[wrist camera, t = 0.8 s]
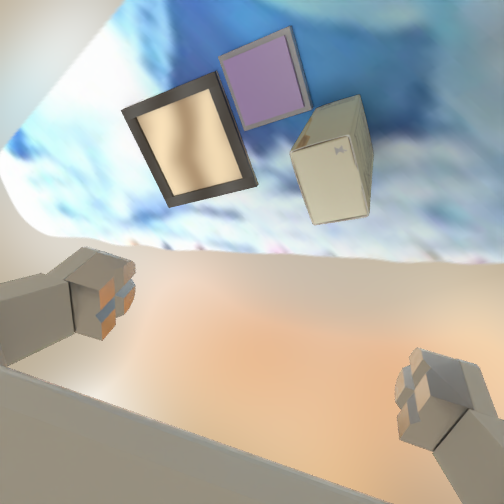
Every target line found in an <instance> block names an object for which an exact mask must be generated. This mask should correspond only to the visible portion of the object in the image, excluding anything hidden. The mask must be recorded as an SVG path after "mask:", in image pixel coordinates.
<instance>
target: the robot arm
mask: <svg viewBox="0 0 504 504" xmlns="http://www.w3.org/2000/svg"><path fill="white" fill-rule="evenodd" d="M134 274H135V263H134V262H133V261H131V260H127V259H124V258H121V257H118V256H116V255H112V254H109V253H107V252H103V251H100V250H96V249H93V248H90V247H82V248H80V249H79V250H78V251H76V252H75V253H74V254H72V255H71V256H70V257H68V258H67V259H66V260H65V261H63V262H62V263H61V264H59V265H58V266H57V267H56V268H54V269H53V270H51V271H50V272H49V273H47V274H46V275H45V274H42V273H40V274H36V275H32V276H28V277H24V278H20V279H16V280H12V281H8V282H4V283H0V504H392V503H390V502H387V501H384V500H381V499H378V498H375V497H372V496H370V495H367V494H364V493H361V492H358V491H356V490H353V489H350V488H347V487H344V486H341V485H339V484H336V483H333V482H330V481H327V480H324V479H321V478H318V477H316V476H313V475H310V474H307V473H304V472H302V471H298V470H296V469H293V468H290V467H287V466H284V465H282V464H279V463H276V462H273V461H270V460H268V459H265V458H262V457H259V456H256V455H253V454H251V453H248V452H245V451H242V450H239V449H237V448H234V447H231V446H228V445H225V444H222V443H219V442H217V441H214V440H211V439H208V438H205V437H203V436H200V435H197V434H194V433H191V432H188V431H186V430H183V429H180V428H177V427H175V426H172V425H169V424H166V423H163V422H160V421H158V420H155V419H152V418H149V417H146V416H143V415H140V414H138V413H135V412H132V411H129V410H127V409H124V408H121V407H118V406H115V405H112V404H109V403H107V402H104V401H101V400H98V399H95V398H92V397H90V396H87V395H84V394H81V393H78V392H76V391H73V390H70V389H67V388H64V387H61V386H58V385H56V384H53V383H50V382H47V381H44V380H42V379H39V378H36V377H33V376H30V375H28V374H25V373H22V372H19V371H16V370H13V369H10V368H8V367H7V366H9V365H11V364H13V363H15V362H18V361H20V360H22V359H24V358H26V357H28V356H30V355H32V354H34V353H36V352H38V351H40V350H42V349H44V348H46V347H48V346H50V345H52V344H54V343H57V342H58V341H61V340H63V339H65V338H67V337H69V336H71V335H73V334H74V332H75V333H78V334H82V335H85V336H88V337H92V338H95V339H99V340H102V341H103V339H104V338H105V337H106V336H107V335H108V333H109V332H110V331H111V330H112V329H113V328H114V326H115V325H116V318H117V317H120V316H122V315H124V314H125V313H126V312H127V310H128V309H129V308H130V306H131V304H132V302H133V300H134V296H135V284H134V282H133V281H132V279H131V278H132V276H133V275H134ZM409 359H410V365H409V366H407V367H404V368H402V370H401V372H400V374H399V376H398V378H397V382H396V385H395V402H396V404H397V405H398V406H399V408H400V409H401V411H400V413H399V414H398V416H397V421H398V431H399V439H400V440H401V441H404V442H407V443H410V444H412V445H415V446H418V447H421V448H423V449H427V450H429V451H432V452H433V455H434V457H435V459H436V460H437V462H438V464H439V465H440V467H441V469H442V470H443V472H444V474H445V475H446V477H447V479H448V480H449V482H450V483H451V485H452V487H453V488H454V490H455V492H456V493H457V495H458V497H459V498H460V500H461V502H462V503H463V504H504V420H502V419H499V418H498V416H497V413H496V410H495V408H494V405H493V402H492V400H491V397H490V394H489V392H488V389H487V386H486V383H485V381H484V378H483V375H482V373H481V370H480V368H479V367H478V366H477V365H476V364H474V363H470V362H466V361H463V360H459V359H453V358H451V357H447V356H444V355H441V354H437V353H434V352H430V351H427V350H424V349H421V348H416V349H415V350H414V351H413V352H412V353H411V355H410V357H409Z"/></svg>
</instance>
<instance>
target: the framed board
mask: <svg viewBox="0 0 504 504" xmlns="http://www.w3.org/2000/svg"><path fill="white" fill-rule="evenodd" d="M121 112H122V114H123V116H124V118H125V120H126V122H127V124H128V126H129V128H130V130H131V132H132V134H133V136H134V138H135V140H136V142H137V144H138V146H139V148H140V150H141V152H142V154H143V156H144V158H145V160H146V162H147V164H148V166H149V168H150V171H151V173H152V175H153V177H154V179H155V181H156V183H157V185H158V187H159V189H160V191H161V193H162V195H163V197H164V199H165V201H166V203H167V205H168V207H169V208H171V207H175V206H179V205H183V204H187V203H191V202H195V201H199V200H204V199H208V198H212V197H216V196H220V195H224V194H228V193H232V192H237V191H241V190H245V189H249V188H253V187H257V185H258V182H257V179H256V177H255V174H254V171H253V168H252V166H251V163H250V160H249V157H248V155H247V152H246V149H245V146H244V144H243V141H242V138H241V135H240V133H239V130H238V127H237V124H236V122H235V119H234V116H233V113H232V111H231V108H230V105H229V102H228V100H227V97H226V94H225V91H224V89H223V86H222V83H221V80H220V78H219V75H218V72H217V71H215V72H212V73H210V74H207V75H205V76H202V77H200V78H198V79H195V80H193V81H190V82H188V83H186V84H183V85H181V86H178V87H176V88H173V89H171V90H169V91H166V92H164V93H161V94H159V95H157V96H154V97H152V98H149V99H147V100H144V101H142V102H140V103H137V104H135V105H132V106H130V107H128V108H125V109H123V110H121Z"/></svg>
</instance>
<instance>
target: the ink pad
mask: <svg viewBox="0 0 504 504" xmlns="http://www.w3.org/2000/svg"><path fill="white" fill-rule="evenodd" d="M218 58H219V61H220V64H221V67H222V69H223V72H224V75H225V78H226V81H227V83H228V86H229V89H230V92H231V95H232V98H233V100H234V103H235V106H236V109H237V112H238V114H239V117H240V120H241V123H242V126H243V128H244V131H247V130H250V129H253V128H256V127H259V126H262V125H265V124H269V123H272V122H275V121H278V120H281V119H284V118H287V117H290V116H294V115H297V114H300V113H303V112H306V111H309V110H312V109H313V104H312V100H311V97H310V93H309V89H308V85H307V82H306V78H305V74H304V70H303V67H302V63H301V59H300V55H299V51H298V48H297V44H296V40H295V36H294V33H293V29H292V26H288V27H286V28H284V29H282V30H279V31H277V32H275V33H272V34H270V35H268V36H265V37H263V38H261V39H258V40H256V41H254V42H251V43H249V44H247V45H244V46H242V47H240V48H238V49H235V50H233V51H231V52H228V53H226V54H224V55H221V56H219V57H218Z"/></svg>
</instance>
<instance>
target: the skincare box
mask: <svg viewBox="0 0 504 504" xmlns="http://www.w3.org/2000/svg"><path fill="white" fill-rule="evenodd" d="M373 156H374V155H373V149H372V144H371V139H370V134H369V129H368V125H367V121H366V116H365V112H364V108H363V104H362V100H361V97H360V95H355V96H352V97H348V98H345V99H341V100H338V101H335V102H332V103H329V104H326V105H323V106H321V107H318V108H316V109H315V111H314V112H313V114H312V116H311V117H310V119H309V121H308V122H307V124H306V126H305V127H304V129H303V131H302V132H301V134H300V136H299V137H298V139H297V141H296V143H295V144H294V146H293V148H292V149H291V151H290V157H291V161H292V165H293V169H294V172H295V175H296V178H297V181H298V184H299V188H300V190H301V193H302V196H303V199H304V202H305V205H306V208H307V210H308V213H309V216H310V218H311V221H312V224H313V225H320V224H327V223H333V222H340V221H346V220H352V219H358V218H364V217H367V216H368V215H369V211H370V197H371V184H372V170H373Z"/></svg>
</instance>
